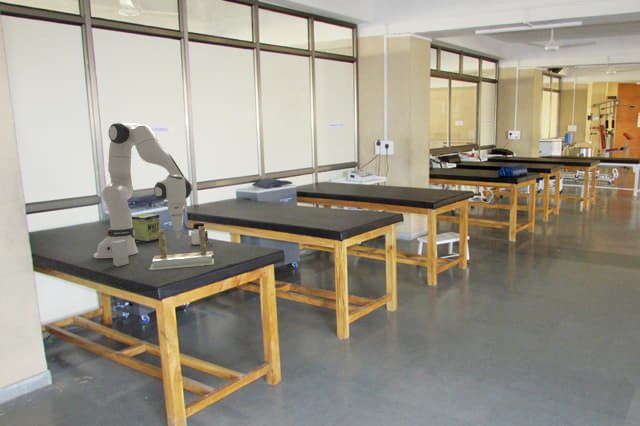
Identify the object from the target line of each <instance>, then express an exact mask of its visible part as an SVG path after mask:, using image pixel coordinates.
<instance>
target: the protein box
mask: <svg viewBox="0 0 640 426" xmlns="http://www.w3.org/2000/svg"><path fill="white" fill-rule="evenodd" d="M160 222H161V221H160V214H153V213H139V214H134V215H133V214H132V224H133V227H134V233H135V237H134V239H135V241H139V242H138V243H142V242H146V243H145V244H149V243H150V242H151V243H154V241H155V242H157V241H158V242H159V239H158V231H159V229H161V223H160Z"/></svg>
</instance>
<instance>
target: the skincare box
mask: <svg viewBox="0 0 640 426" xmlns="http://www.w3.org/2000/svg"><path fill="white" fill-rule="evenodd" d="M111 244H112V253H113V258H112V262H113V266H115V267H120V266H121V267H122V266H125V265H129V264H130V263H129V256H128V251H127V241H126V240H119V241H115V242H111Z"/></svg>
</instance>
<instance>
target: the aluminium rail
mask: <svg viewBox="0 0 640 426" xmlns="http://www.w3.org/2000/svg"><path fill="white" fill-rule="evenodd" d="M212 259H213V257H212V255H201V256H189V257H177V258H165V259H154V260H153V259H152V260H151V261H152V263H151V264H152V265H153V267H160V266H171V265H183V264H194V263H206V262H212Z"/></svg>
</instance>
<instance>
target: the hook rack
mask: <svg viewBox="0 0 640 426" xmlns="http://www.w3.org/2000/svg"><path fill="white" fill-rule="evenodd" d="M205 228H206V226H205V225H204V226H201V227H199V240H200V244H199V250H200V251H199V252H198V251H197V252H190V253H189V252H187V253H175V254H167V253H168V251H167V240H166V237H167V236H166V229H165V228H162V229H161V228H160V229H159V231H158V239H159V240H158V243H159V244H158V245H159V255H154V256H153V258H152V260H154V259H165V258H177V257H189V256H201V255H212V258H213V257H215V255H214V251H212V250H211V251H207V243H206V240H205V230H206V229H205Z"/></svg>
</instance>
